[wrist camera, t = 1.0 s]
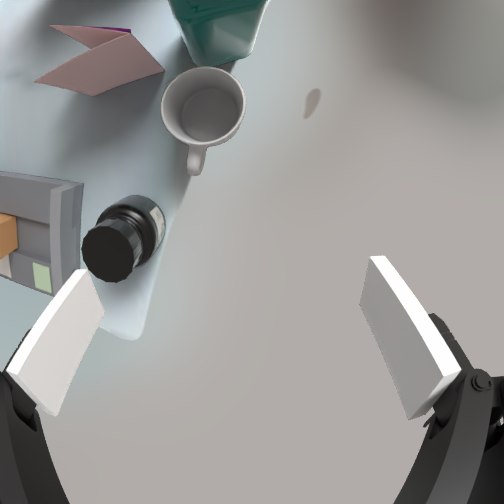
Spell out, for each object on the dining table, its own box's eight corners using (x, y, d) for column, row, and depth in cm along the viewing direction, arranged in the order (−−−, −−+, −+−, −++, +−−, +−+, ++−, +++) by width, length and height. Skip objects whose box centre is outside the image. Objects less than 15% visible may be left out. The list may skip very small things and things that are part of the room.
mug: (185, 83, 31) (169, 61, 21) (247, 92, 32) (255, 72, 22) (169, 166, 35) (147, 175, 25) (230, 175, 36) (230, 187, 26)
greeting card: (168, 65, 29) (135, 25, 16) (145, 111, 32) (98, 96, 18) (104, 50, 27) (53, 18, 13) (83, 93, 29) (23, 79, 15)
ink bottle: (151, 263, 40) (127, 305, 29) (103, 237, 38) (67, 271, 27) (177, 209, 37) (157, 236, 26) (126, 181, 35) (87, 198, 24)
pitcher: (197, 73, 30) (162, -4, 10) (181, 27, 27) (142, -63, 7) (265, 54, 30) (308, -32, 10) (247, 9, 27) (267, -88, 6)
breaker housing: (-3, 264, 37) (-20, 278, 31) (-8, 170, 30) (-30, 176, 24) (81, 294, 41) (66, 314, 35) (83, 183, 34) (61, 191, 28)
